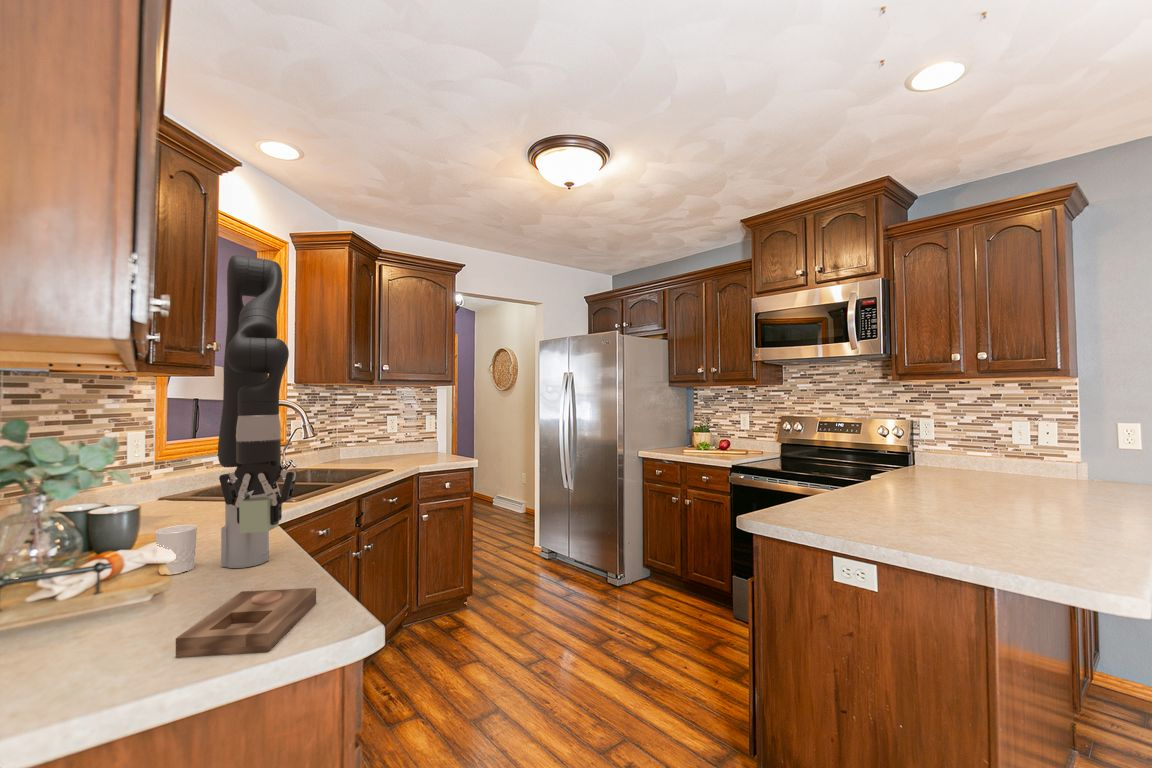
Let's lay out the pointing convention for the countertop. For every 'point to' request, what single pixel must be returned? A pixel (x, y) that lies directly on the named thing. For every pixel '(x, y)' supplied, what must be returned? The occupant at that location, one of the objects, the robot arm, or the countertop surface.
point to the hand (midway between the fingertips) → (259, 524)
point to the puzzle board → (247, 623)
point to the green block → (255, 515)
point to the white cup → (179, 545)
